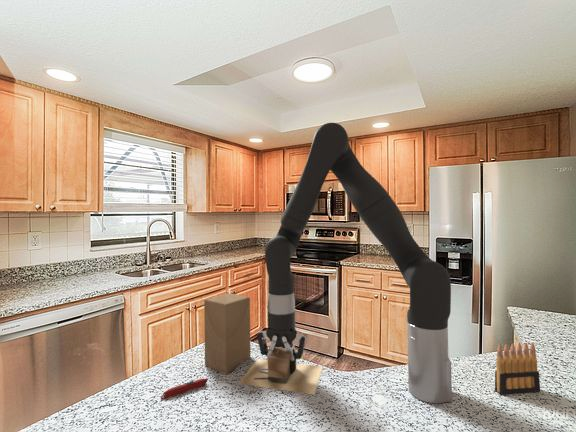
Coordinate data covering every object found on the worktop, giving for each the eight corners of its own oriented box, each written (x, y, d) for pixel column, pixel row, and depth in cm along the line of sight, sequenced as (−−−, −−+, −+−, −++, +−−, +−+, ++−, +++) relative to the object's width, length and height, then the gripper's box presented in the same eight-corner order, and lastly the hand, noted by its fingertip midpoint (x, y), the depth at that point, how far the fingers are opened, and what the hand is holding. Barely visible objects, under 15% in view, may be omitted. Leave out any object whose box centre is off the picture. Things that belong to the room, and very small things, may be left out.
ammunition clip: (500, 394, 73) (499, 345, 73) (494, 390, 75) (493, 342, 75) (540, 392, 74) (539, 343, 74) (533, 388, 76) (532, 340, 76)
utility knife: (207, 383, 80) (207, 376, 80) (208, 385, 79) (208, 377, 79) (160, 398, 74) (160, 390, 74) (161, 400, 73) (161, 392, 73)
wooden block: (226, 375, 84) (225, 304, 84) (204, 365, 90) (203, 299, 90) (251, 361, 92) (250, 296, 92) (229, 353, 98) (228, 292, 98)
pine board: (323, 371, 85) (323, 366, 85) (314, 400, 72) (314, 394, 72) (257, 363, 90) (257, 358, 90) (238, 389, 77) (238, 383, 77)
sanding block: (294, 366, 85) (294, 345, 85) (286, 383, 76) (286, 359, 76) (278, 364, 86) (278, 343, 86) (268, 380, 77) (267, 357, 77)
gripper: (309, 306, 83) (310, 368, 83) (261, 303, 87) (262, 362, 86) (304, 315, 76) (304, 382, 75) (251, 311, 79) (252, 375, 79)
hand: (281, 371), depth 81 cm, fingers closed on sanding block, 5 cm apart
